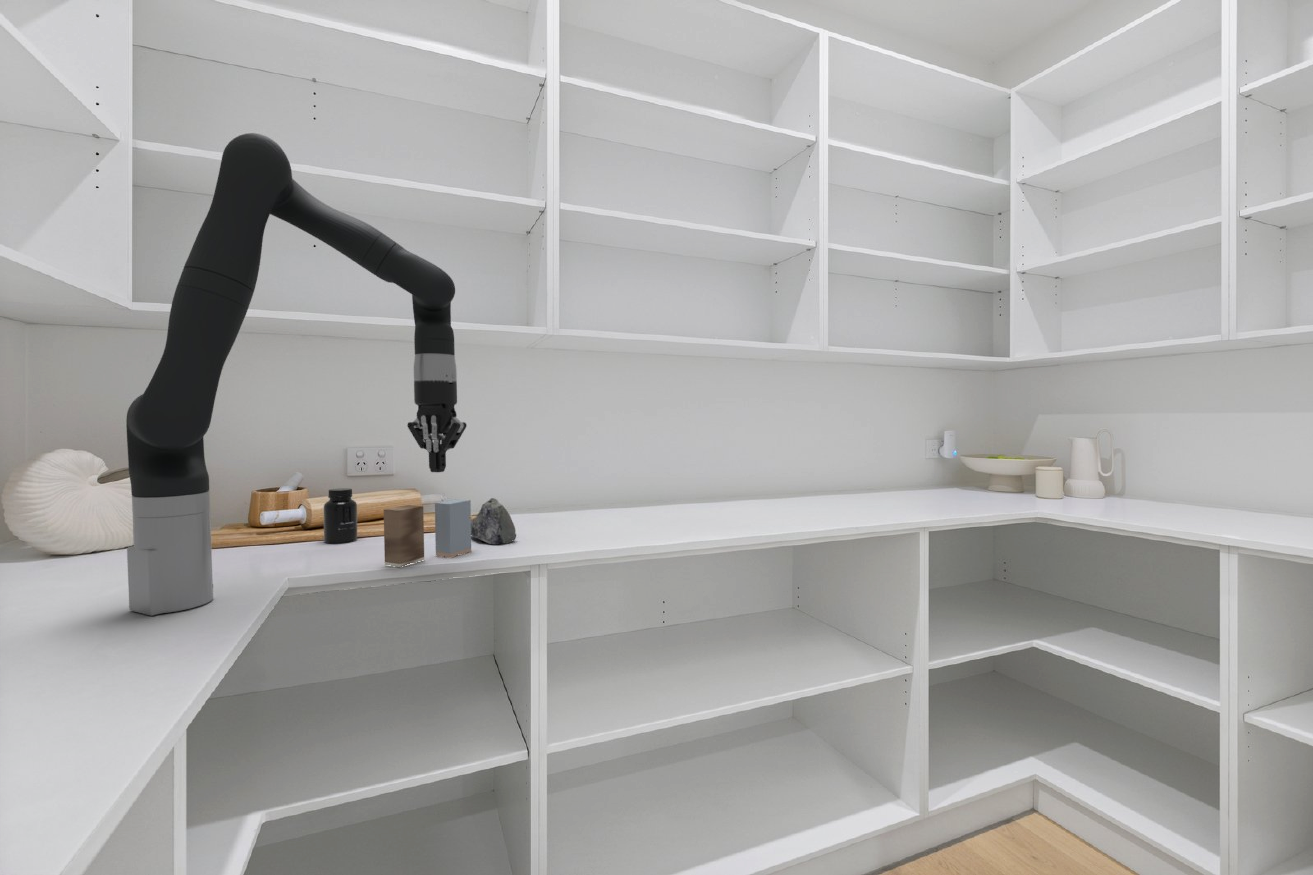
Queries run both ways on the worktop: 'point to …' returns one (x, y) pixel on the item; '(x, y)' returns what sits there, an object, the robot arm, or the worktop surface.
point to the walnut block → (403, 535)
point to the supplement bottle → (340, 517)
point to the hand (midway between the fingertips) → (437, 471)
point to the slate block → (453, 527)
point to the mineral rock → (493, 524)
